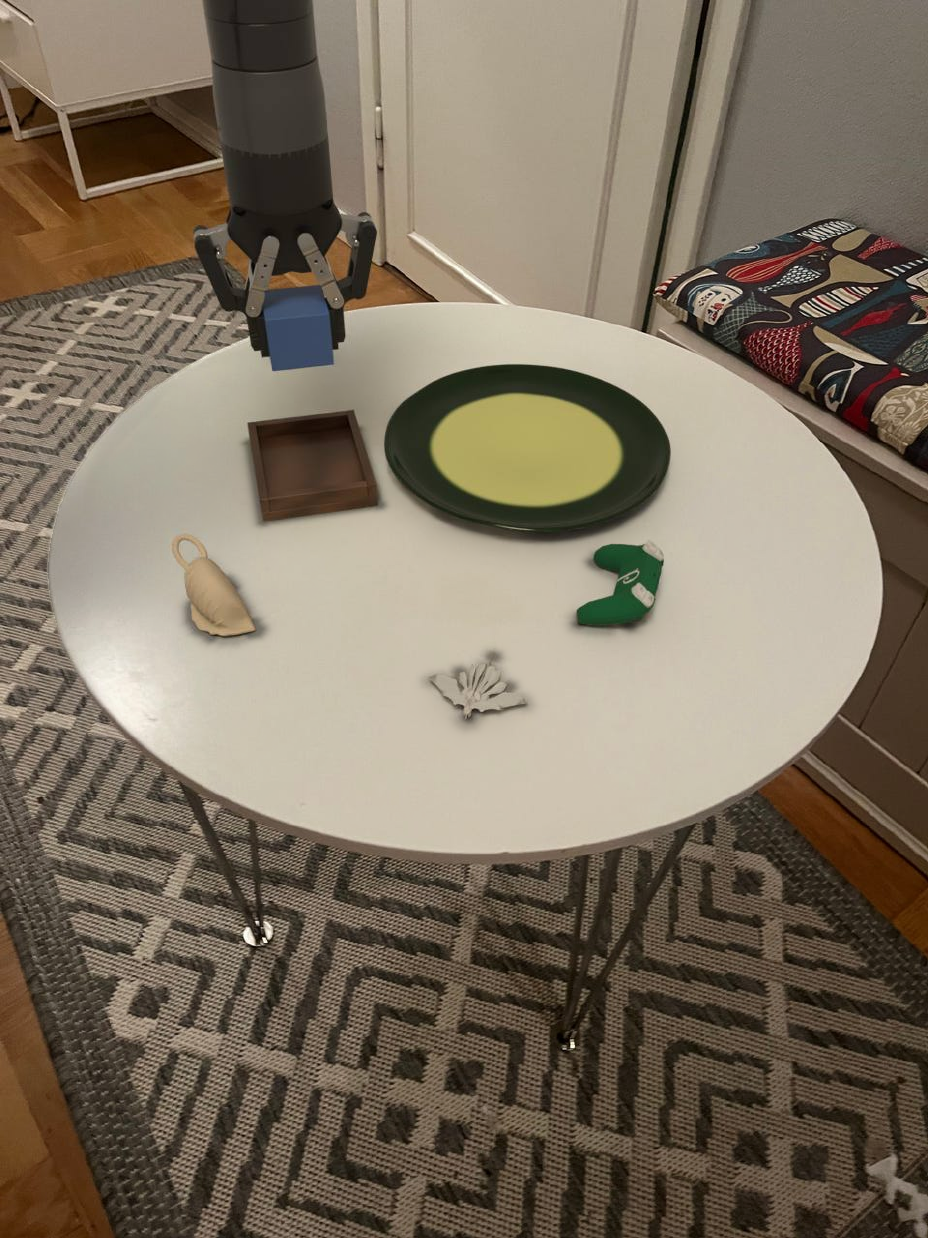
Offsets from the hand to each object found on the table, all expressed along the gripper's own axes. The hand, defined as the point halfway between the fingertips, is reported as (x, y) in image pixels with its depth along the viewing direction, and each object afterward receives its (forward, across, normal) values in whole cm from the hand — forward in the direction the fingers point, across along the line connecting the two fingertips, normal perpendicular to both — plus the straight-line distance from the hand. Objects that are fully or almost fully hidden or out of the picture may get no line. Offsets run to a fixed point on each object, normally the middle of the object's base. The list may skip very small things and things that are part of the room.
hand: (299, 347), depth 78 cm
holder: (+16, 0, +4) cm, 16 cm away
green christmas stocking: (+16, +23, -19) cm, 34 cm away
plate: (+16, +21, +2) cm, 26 cm away
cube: (0, 0, 0) cm, 0 cm away
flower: (+16, +9, -26) cm, 32 cm away
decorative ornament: (+16, -10, -13) cm, 23 cm away
